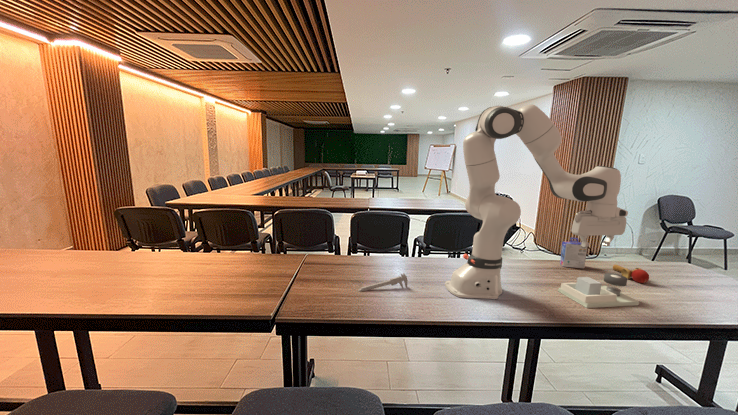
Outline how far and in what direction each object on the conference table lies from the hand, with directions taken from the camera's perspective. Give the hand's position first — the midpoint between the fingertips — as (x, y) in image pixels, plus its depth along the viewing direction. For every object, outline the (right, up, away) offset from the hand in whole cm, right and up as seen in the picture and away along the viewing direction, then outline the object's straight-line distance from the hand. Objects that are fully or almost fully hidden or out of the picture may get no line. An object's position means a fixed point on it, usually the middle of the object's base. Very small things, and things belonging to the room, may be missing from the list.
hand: (595, 246), depth 116 cm
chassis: (+4, -21, +4) cm, 21 cm away
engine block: (-1, -19, +3) cm, 20 cm away
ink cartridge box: (+18, -15, +40) cm, 46 cm away
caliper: (-80, -19, +8) cm, 83 cm away
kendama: (+36, -18, +27) cm, 48 cm away
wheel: (+11, -15, +4) cm, 19 cm away
